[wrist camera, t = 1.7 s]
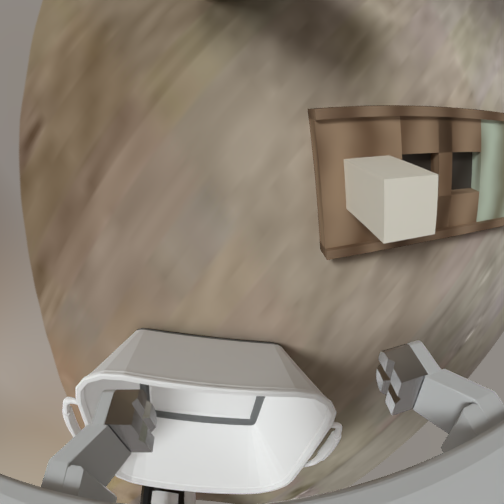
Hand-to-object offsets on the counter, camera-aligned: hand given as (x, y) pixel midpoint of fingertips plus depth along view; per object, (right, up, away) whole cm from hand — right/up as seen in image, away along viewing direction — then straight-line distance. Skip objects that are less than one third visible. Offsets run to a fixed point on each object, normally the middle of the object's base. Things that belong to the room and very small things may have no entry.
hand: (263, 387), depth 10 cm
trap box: (+21, +14, +21) cm, 33 cm away
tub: (-7, -13, +32) cm, 36 cm away
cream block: (+11, +11, +19) cm, 25 cm away
